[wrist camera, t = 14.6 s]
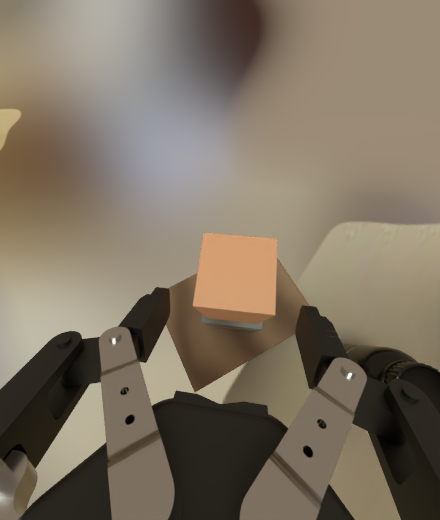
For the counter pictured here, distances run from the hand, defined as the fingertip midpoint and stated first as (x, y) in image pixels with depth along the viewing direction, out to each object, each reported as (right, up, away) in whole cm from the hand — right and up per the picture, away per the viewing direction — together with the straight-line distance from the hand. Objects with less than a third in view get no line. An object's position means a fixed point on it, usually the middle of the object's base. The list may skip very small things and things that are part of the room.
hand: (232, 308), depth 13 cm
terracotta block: (+1, -1, +9) cm, 9 cm away
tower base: (+1, -4, +19) cm, 19 cm away
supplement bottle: (+16, -12, +15) cm, 26 cm away
